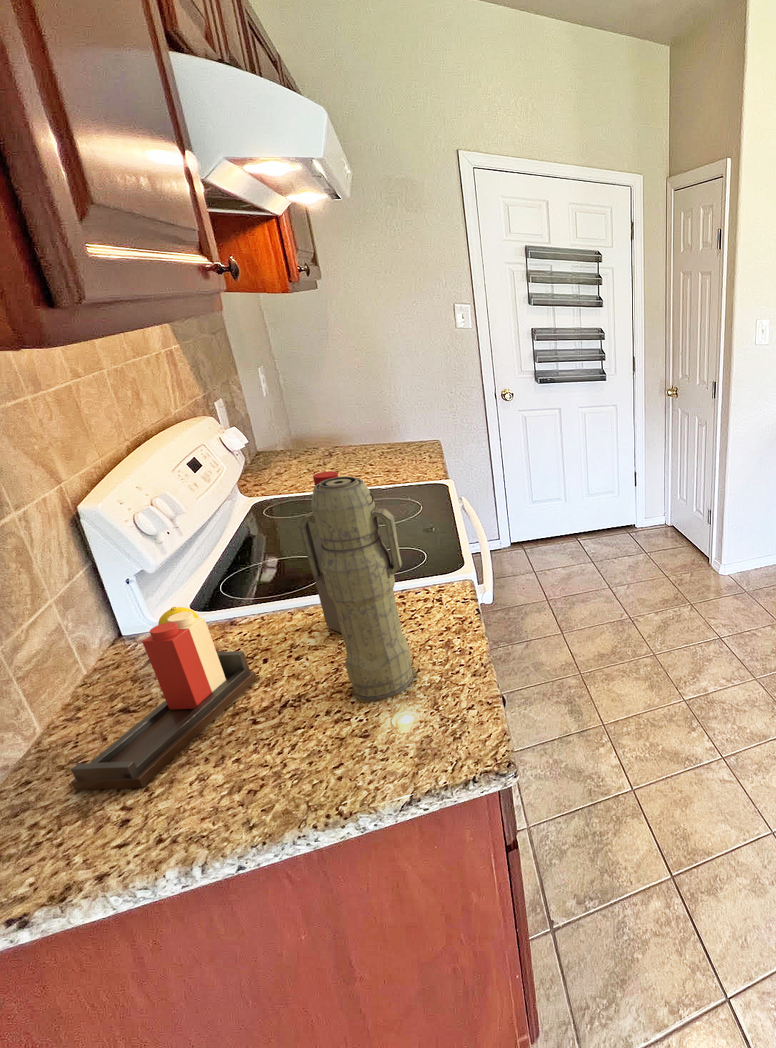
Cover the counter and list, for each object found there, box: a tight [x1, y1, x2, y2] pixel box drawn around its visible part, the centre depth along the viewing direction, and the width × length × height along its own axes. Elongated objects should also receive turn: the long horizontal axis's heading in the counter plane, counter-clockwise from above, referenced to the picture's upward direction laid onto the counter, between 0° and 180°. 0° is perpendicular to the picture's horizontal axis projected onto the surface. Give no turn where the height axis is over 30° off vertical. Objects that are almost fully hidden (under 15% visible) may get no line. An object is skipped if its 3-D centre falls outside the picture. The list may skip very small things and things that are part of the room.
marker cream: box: [167, 612, 226, 693], centre depth 86 cm, size 4×3×13 cm
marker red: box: [141, 622, 212, 710], centre depth 83 cm, size 4×3×13 cm
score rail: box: [70, 650, 258, 791], centre depth 82 cm, size 8×22×6 cm, turn 5°
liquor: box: [312, 470, 342, 634], centre depth 105 cm, size 9×9×30 cm
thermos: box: [298, 476, 414, 701], centre depth 87 cm, size 9×12×35 cm
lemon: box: [157, 606, 200, 626], centre depth 100 cm, size 6×6×8 cm
